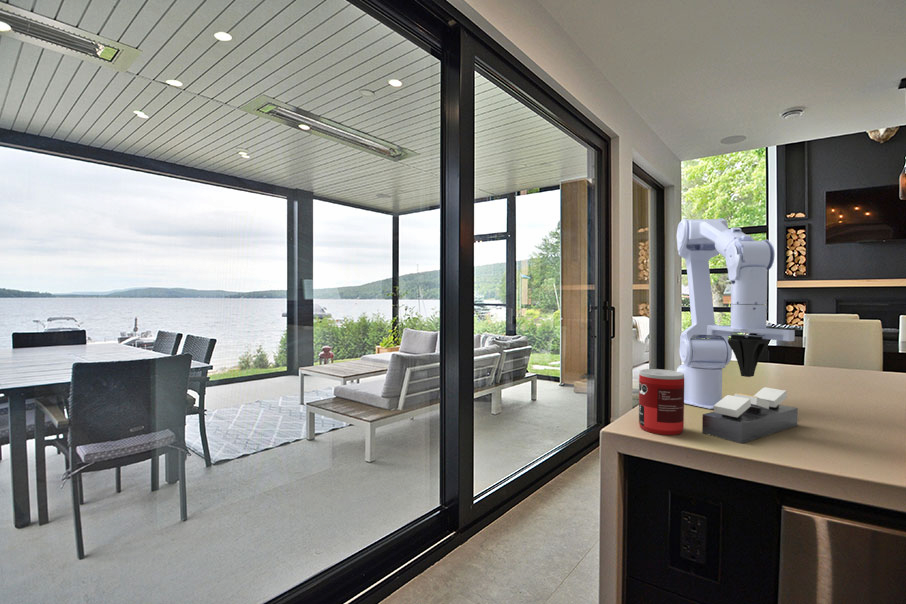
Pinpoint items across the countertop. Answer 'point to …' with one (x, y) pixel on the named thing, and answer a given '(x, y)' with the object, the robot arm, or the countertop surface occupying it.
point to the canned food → (661, 401)
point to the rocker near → (732, 406)
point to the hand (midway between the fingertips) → (747, 376)
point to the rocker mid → (755, 401)
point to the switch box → (750, 423)
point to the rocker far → (772, 396)
